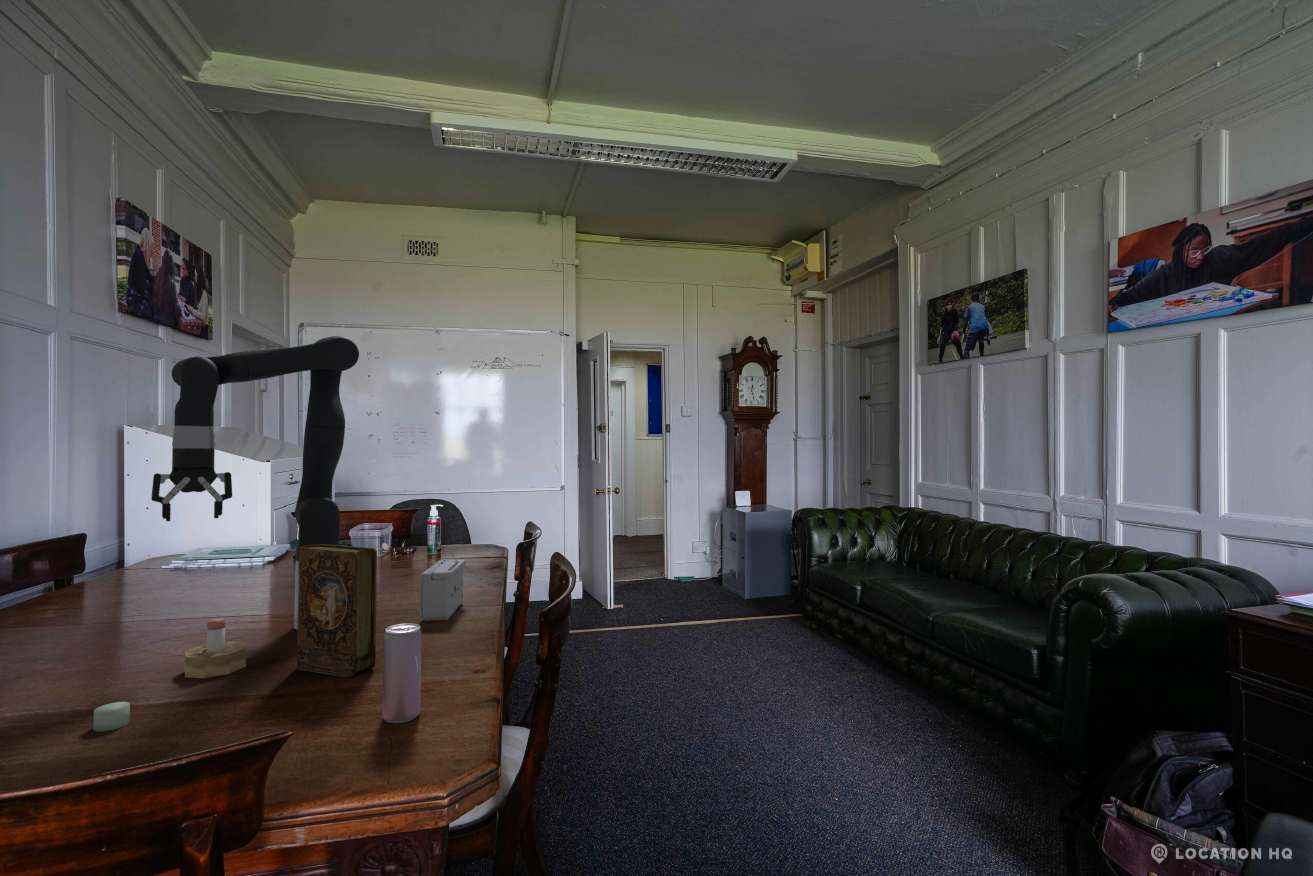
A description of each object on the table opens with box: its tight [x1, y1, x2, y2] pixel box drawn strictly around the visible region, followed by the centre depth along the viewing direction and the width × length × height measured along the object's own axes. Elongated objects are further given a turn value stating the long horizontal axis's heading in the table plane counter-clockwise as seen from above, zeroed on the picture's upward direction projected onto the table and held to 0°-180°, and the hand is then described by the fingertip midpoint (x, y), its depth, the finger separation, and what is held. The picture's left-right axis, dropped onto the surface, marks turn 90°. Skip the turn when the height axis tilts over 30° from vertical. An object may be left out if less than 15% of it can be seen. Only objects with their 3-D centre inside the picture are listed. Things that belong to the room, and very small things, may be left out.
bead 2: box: [184, 640, 247, 679], centre depth 125 cm, size 10×10×4 cm
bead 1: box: [92, 701, 131, 732], centre depth 100 cm, size 4×4×3 cm
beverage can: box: [381, 623, 422, 724], centre depth 104 cm, size 6×6×15 cm
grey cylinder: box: [206, 617, 226, 653], centre depth 125 cm, size 3×3×10 cm
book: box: [296, 544, 378, 678], centre depth 126 cm, size 16×6×25 cm, turn 71°
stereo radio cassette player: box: [419, 545, 467, 622], centre depth 171 cm, size 21×8×20 cm, turn 6°
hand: (192, 519), depth 135 cm, fingers open, 8 cm apart
